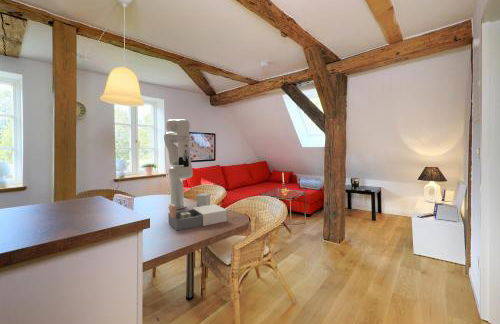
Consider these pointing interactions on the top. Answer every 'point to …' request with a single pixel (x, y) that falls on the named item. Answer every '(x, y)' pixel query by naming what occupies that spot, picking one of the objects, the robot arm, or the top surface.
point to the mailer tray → (184, 223)
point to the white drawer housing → (212, 214)
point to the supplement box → (203, 199)
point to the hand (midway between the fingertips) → (183, 165)
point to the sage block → (185, 215)
